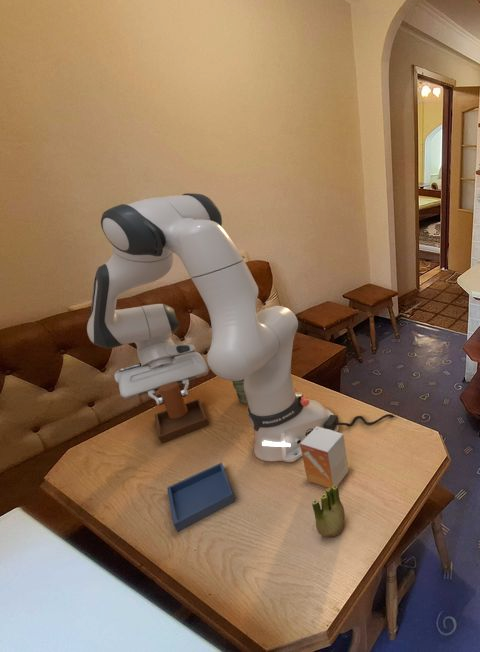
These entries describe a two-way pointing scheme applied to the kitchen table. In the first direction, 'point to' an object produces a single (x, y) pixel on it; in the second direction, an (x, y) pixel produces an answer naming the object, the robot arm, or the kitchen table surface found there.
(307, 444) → the small box
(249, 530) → the kitchen table surface
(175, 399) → the spice tin
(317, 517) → the fennel bulb
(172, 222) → the robot arm
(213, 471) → the blue tray
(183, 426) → the walnut tray
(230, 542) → the kitchen table surface
